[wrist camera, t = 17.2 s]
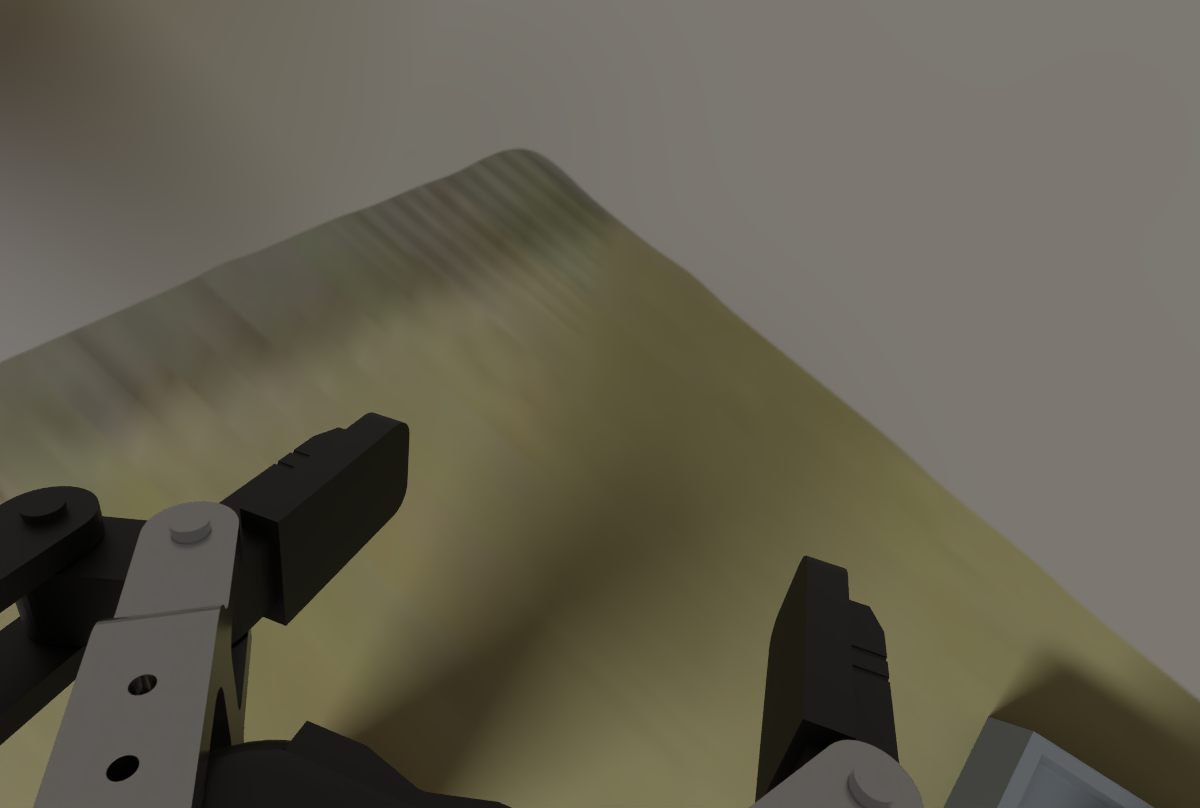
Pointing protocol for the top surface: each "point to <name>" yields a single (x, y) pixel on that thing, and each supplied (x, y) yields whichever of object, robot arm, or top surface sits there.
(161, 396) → the top surface
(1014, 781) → the tray
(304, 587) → the robot arm
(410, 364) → the top surface
